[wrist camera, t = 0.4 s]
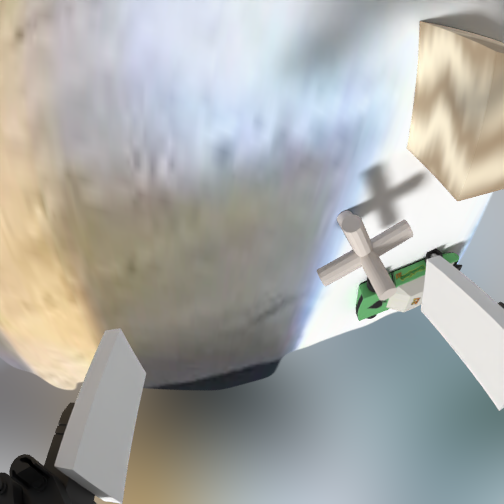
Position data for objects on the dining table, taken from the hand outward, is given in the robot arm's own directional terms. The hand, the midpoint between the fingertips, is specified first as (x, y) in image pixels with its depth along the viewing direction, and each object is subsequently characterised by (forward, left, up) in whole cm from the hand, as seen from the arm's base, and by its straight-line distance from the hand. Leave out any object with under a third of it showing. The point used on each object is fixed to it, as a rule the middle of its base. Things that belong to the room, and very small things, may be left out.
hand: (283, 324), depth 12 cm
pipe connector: (+12, +10, -15) cm, 22 cm away
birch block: (-2, +23, -15) cm, 28 cm away
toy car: (+30, +24, -16) cm, 41 cm away
